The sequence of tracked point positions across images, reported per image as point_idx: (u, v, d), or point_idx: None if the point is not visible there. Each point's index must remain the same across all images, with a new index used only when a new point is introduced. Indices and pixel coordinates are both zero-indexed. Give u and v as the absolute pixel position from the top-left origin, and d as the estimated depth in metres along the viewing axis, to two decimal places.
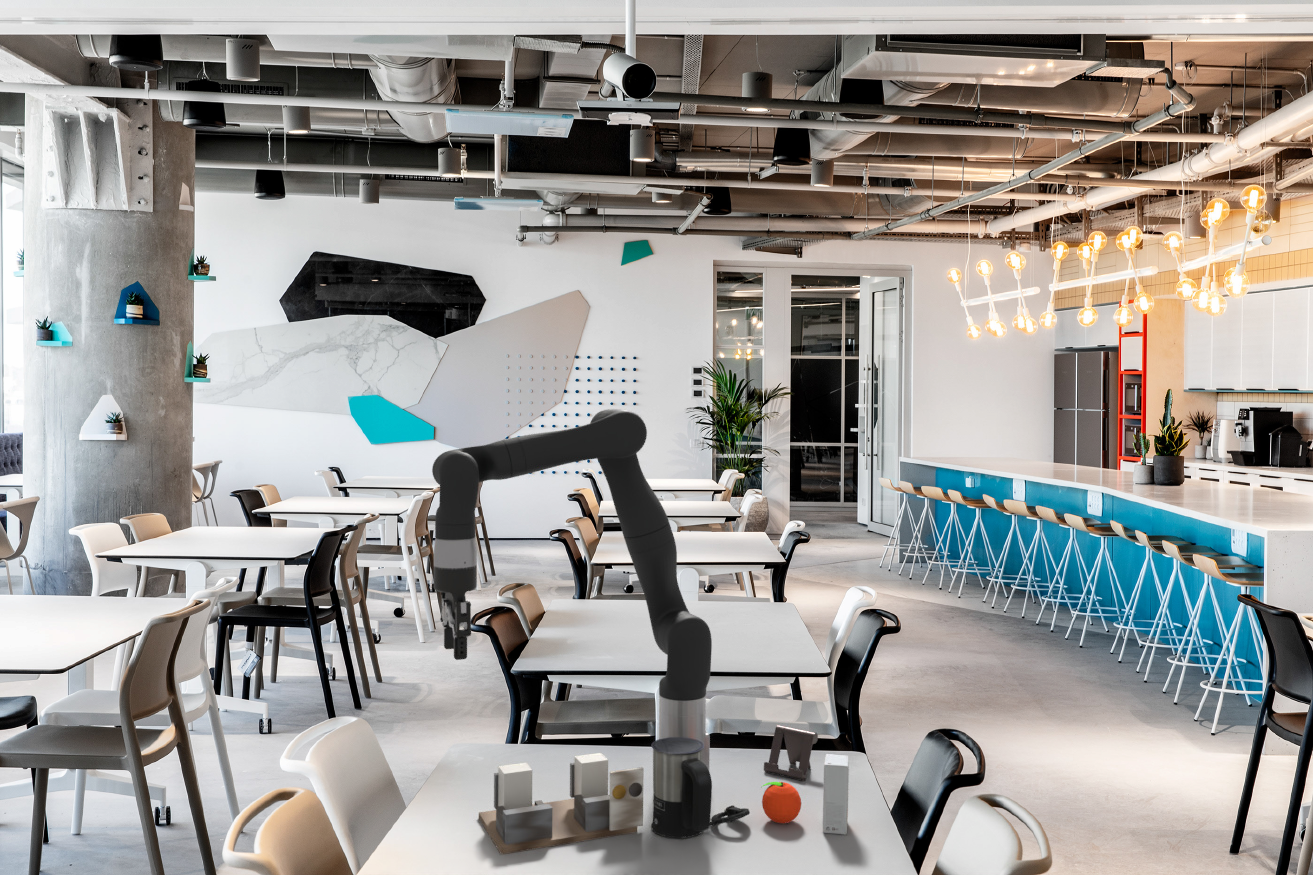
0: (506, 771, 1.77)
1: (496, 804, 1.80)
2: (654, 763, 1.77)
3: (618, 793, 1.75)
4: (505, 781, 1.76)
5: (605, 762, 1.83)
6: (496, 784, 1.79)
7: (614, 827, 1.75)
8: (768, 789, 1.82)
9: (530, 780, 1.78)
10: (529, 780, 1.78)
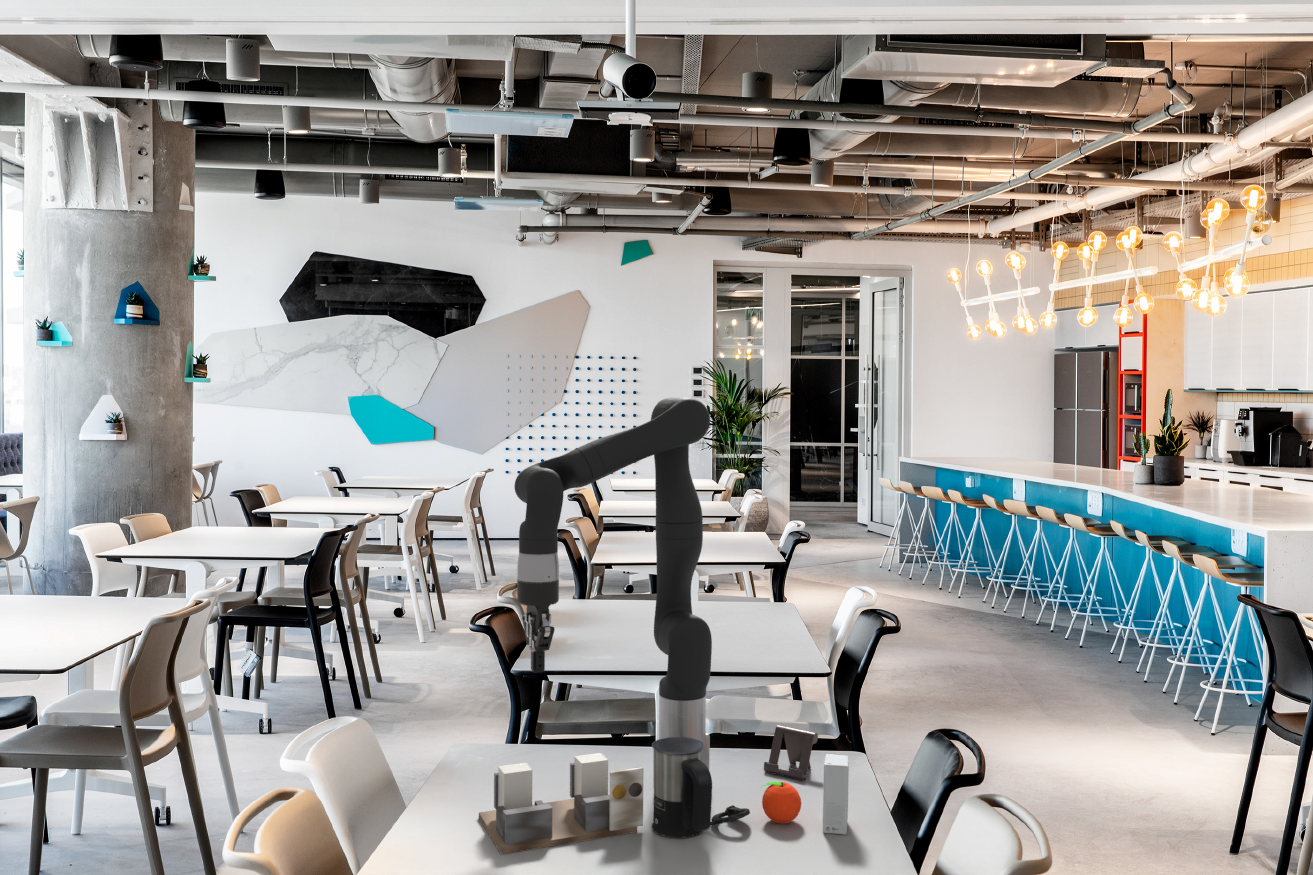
0: (506, 771, 1.77)
1: (496, 804, 1.80)
2: (654, 763, 1.77)
3: (618, 793, 1.75)
4: (505, 781, 1.76)
5: (605, 762, 1.83)
6: (496, 784, 1.79)
7: (614, 827, 1.75)
8: (768, 789, 1.82)
9: (530, 780, 1.78)
10: (529, 780, 1.78)
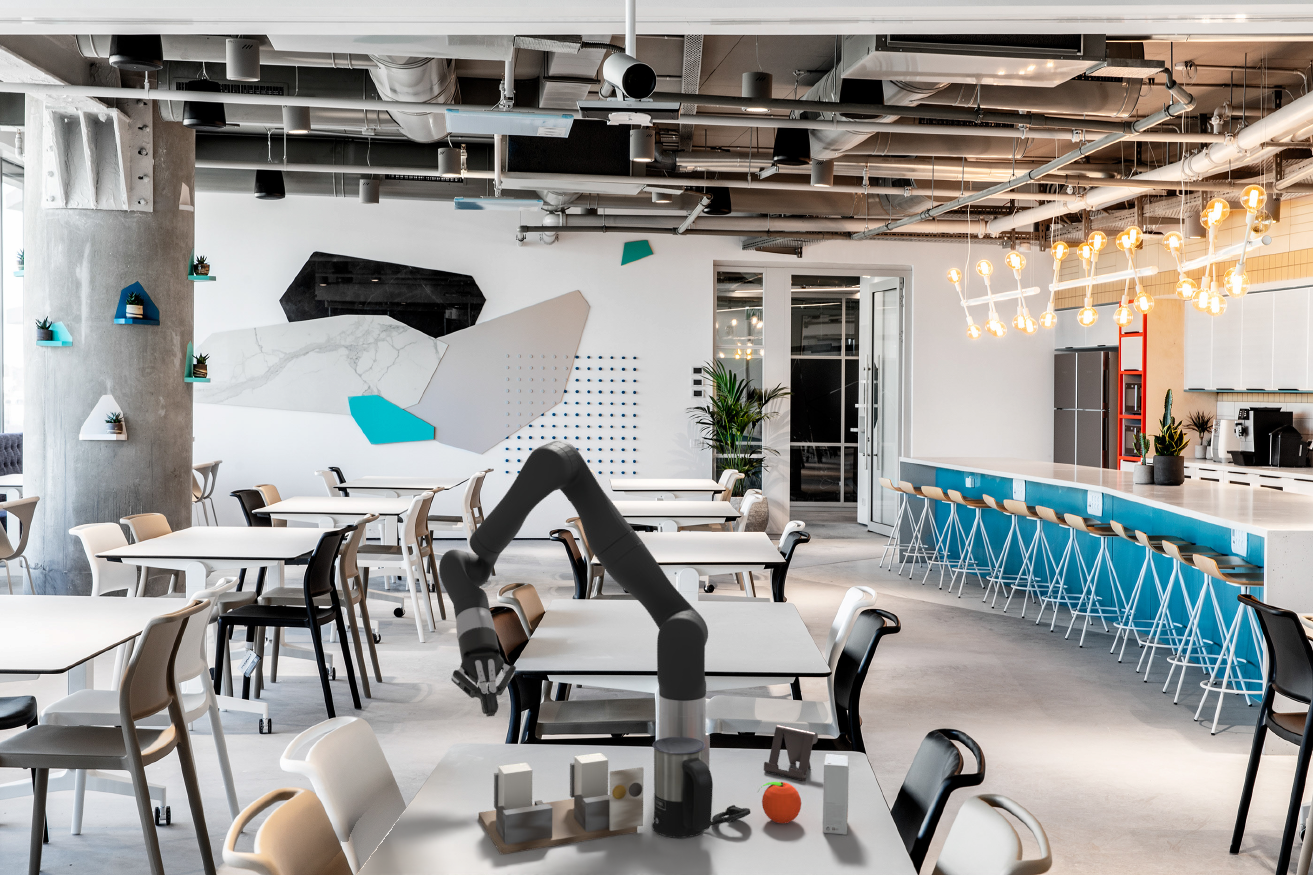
0: (506, 771, 1.77)
1: (496, 804, 1.80)
2: (655, 763, 1.77)
3: (618, 793, 1.75)
4: (505, 781, 1.76)
5: (605, 762, 1.83)
6: (496, 784, 1.79)
7: (614, 827, 1.75)
8: (768, 789, 1.82)
9: (530, 780, 1.78)
10: (529, 780, 1.78)
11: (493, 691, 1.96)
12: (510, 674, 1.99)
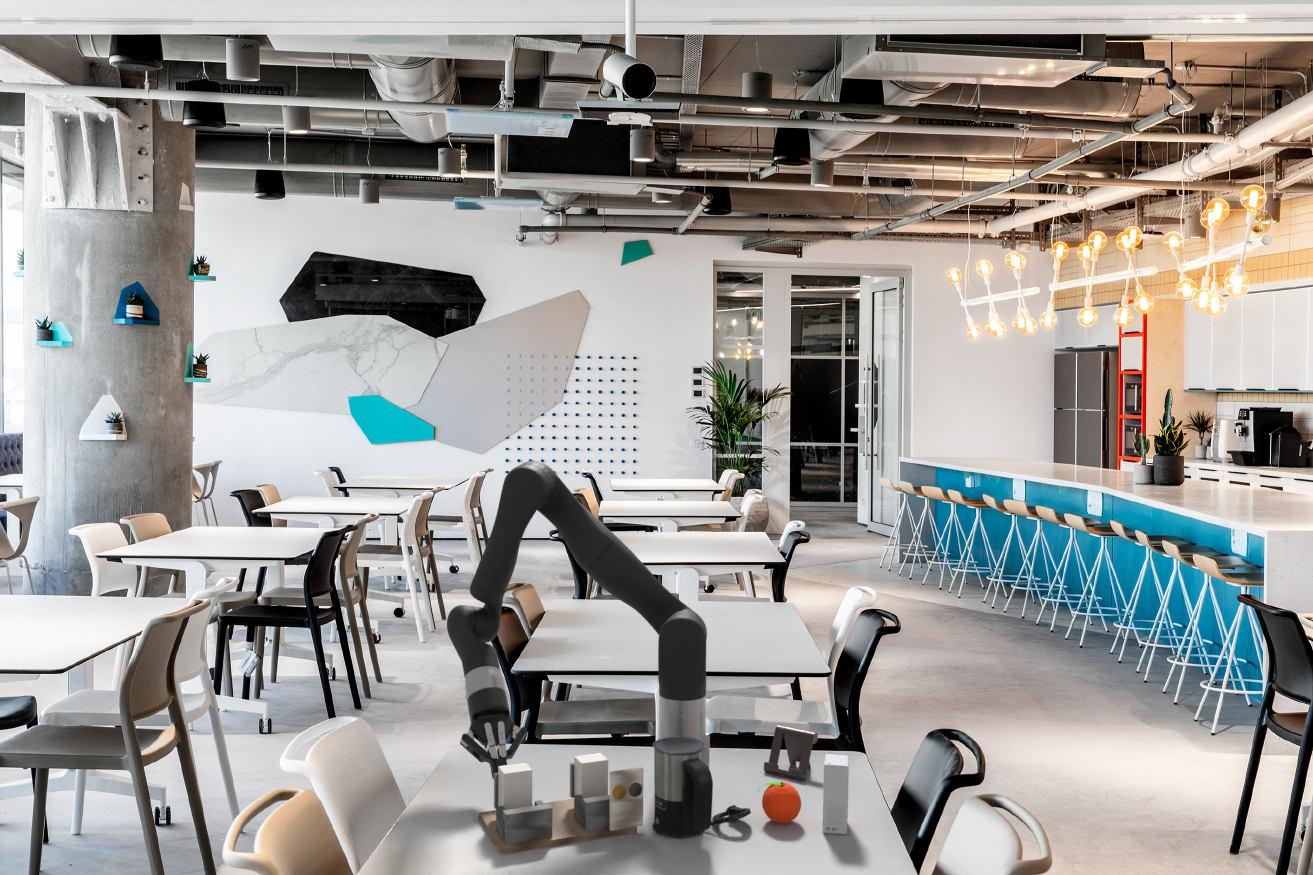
0: (506, 771, 1.77)
1: (496, 804, 1.80)
2: (655, 763, 1.78)
3: (618, 793, 1.75)
4: (505, 781, 1.76)
5: (605, 762, 1.83)
6: (496, 784, 1.79)
7: (614, 827, 1.75)
8: (768, 789, 1.82)
9: (530, 780, 1.78)
10: (529, 780, 1.78)
11: (503, 755, 1.89)
12: (521, 737, 1.93)
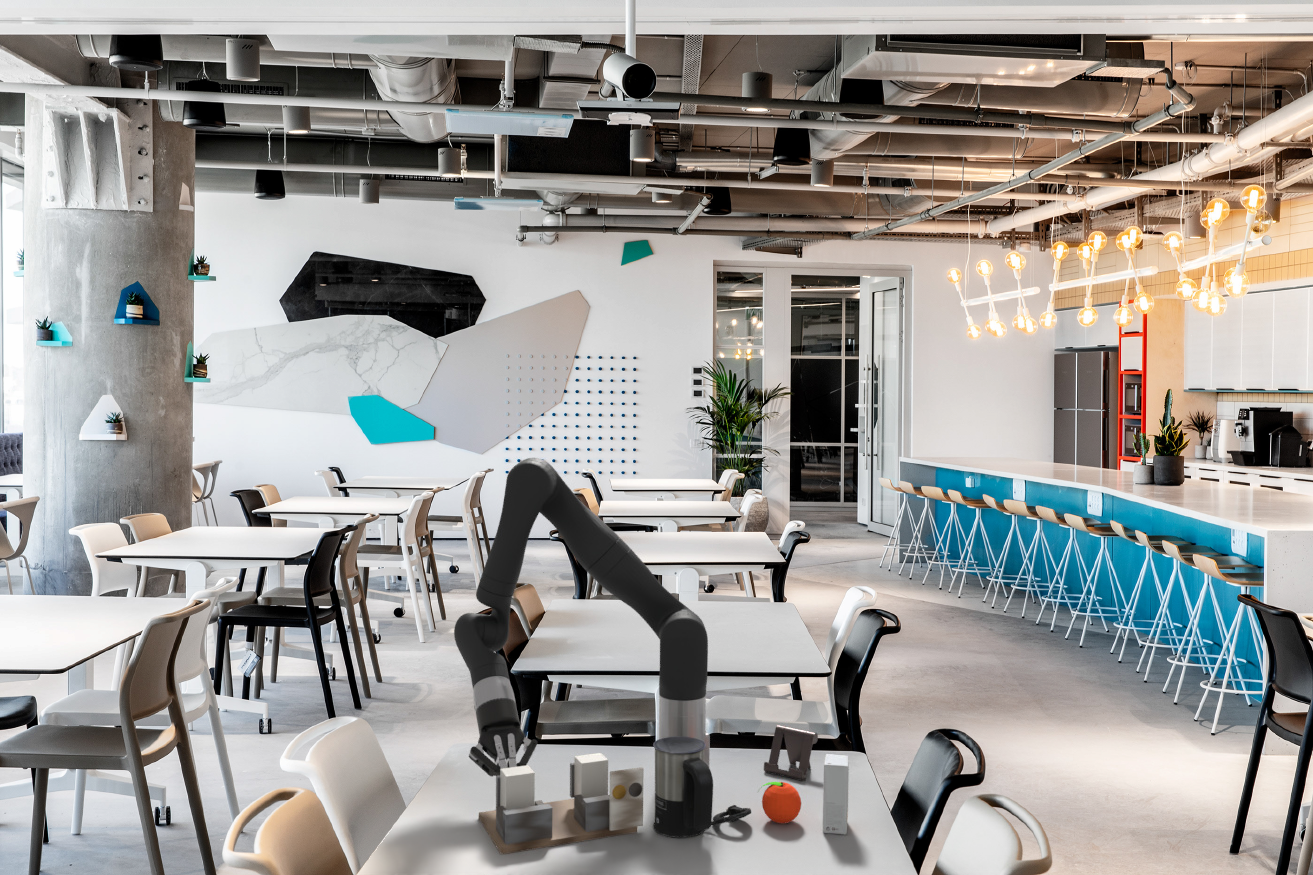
0: (508, 774, 1.75)
1: None
2: (656, 762, 1.78)
3: (618, 793, 1.75)
4: (507, 784, 1.75)
5: (605, 762, 1.83)
6: (498, 787, 1.78)
7: (614, 827, 1.75)
8: (768, 789, 1.82)
9: (532, 783, 1.76)
10: (531, 783, 1.76)
11: None
12: (531, 749, 1.86)
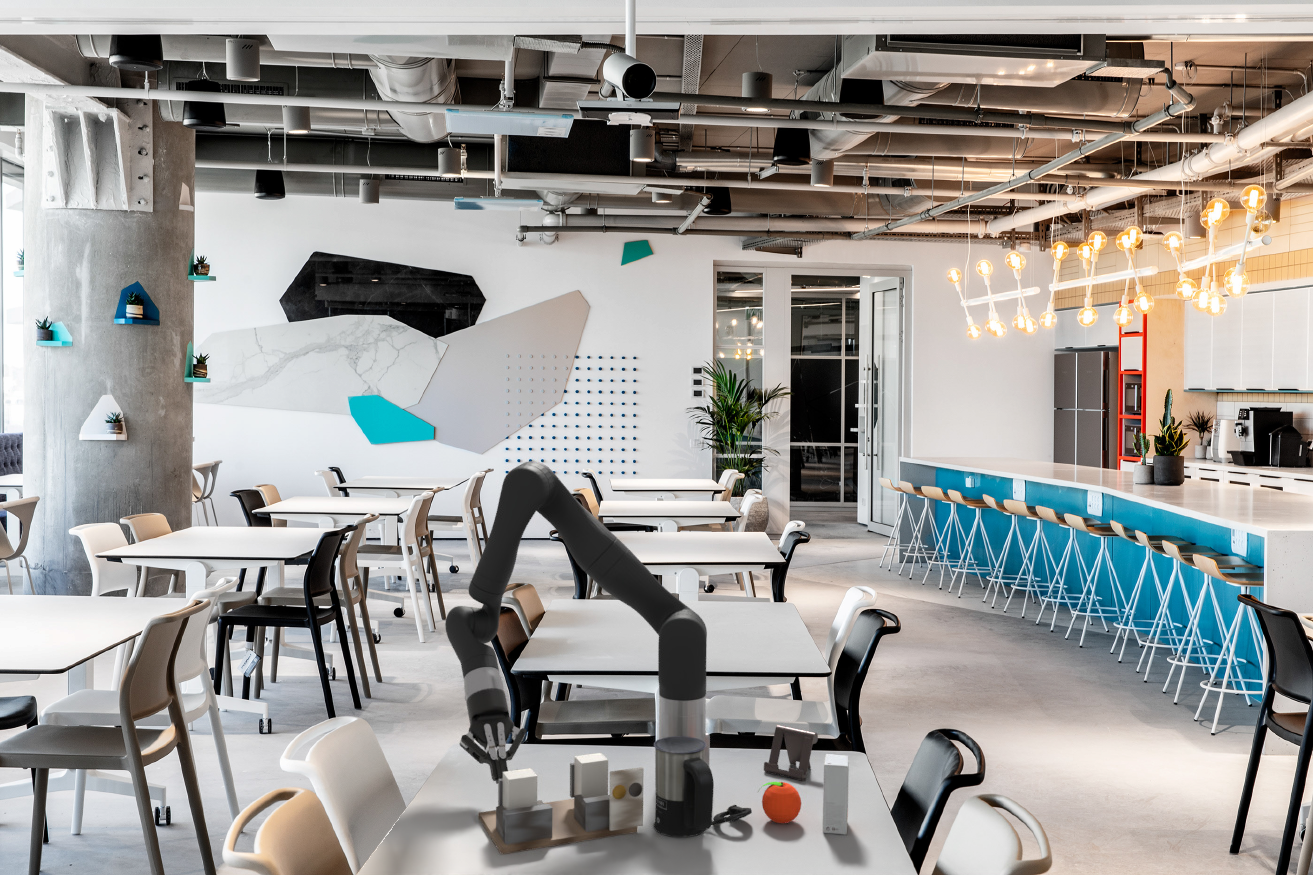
0: (510, 777, 1.74)
1: None
2: (656, 762, 1.78)
3: (618, 793, 1.75)
4: (510, 787, 1.73)
5: (605, 762, 1.83)
6: (500, 790, 1.77)
7: (614, 827, 1.75)
8: (768, 789, 1.82)
9: (535, 786, 1.75)
10: (534, 786, 1.75)
11: (503, 757, 1.89)
12: (520, 738, 1.93)
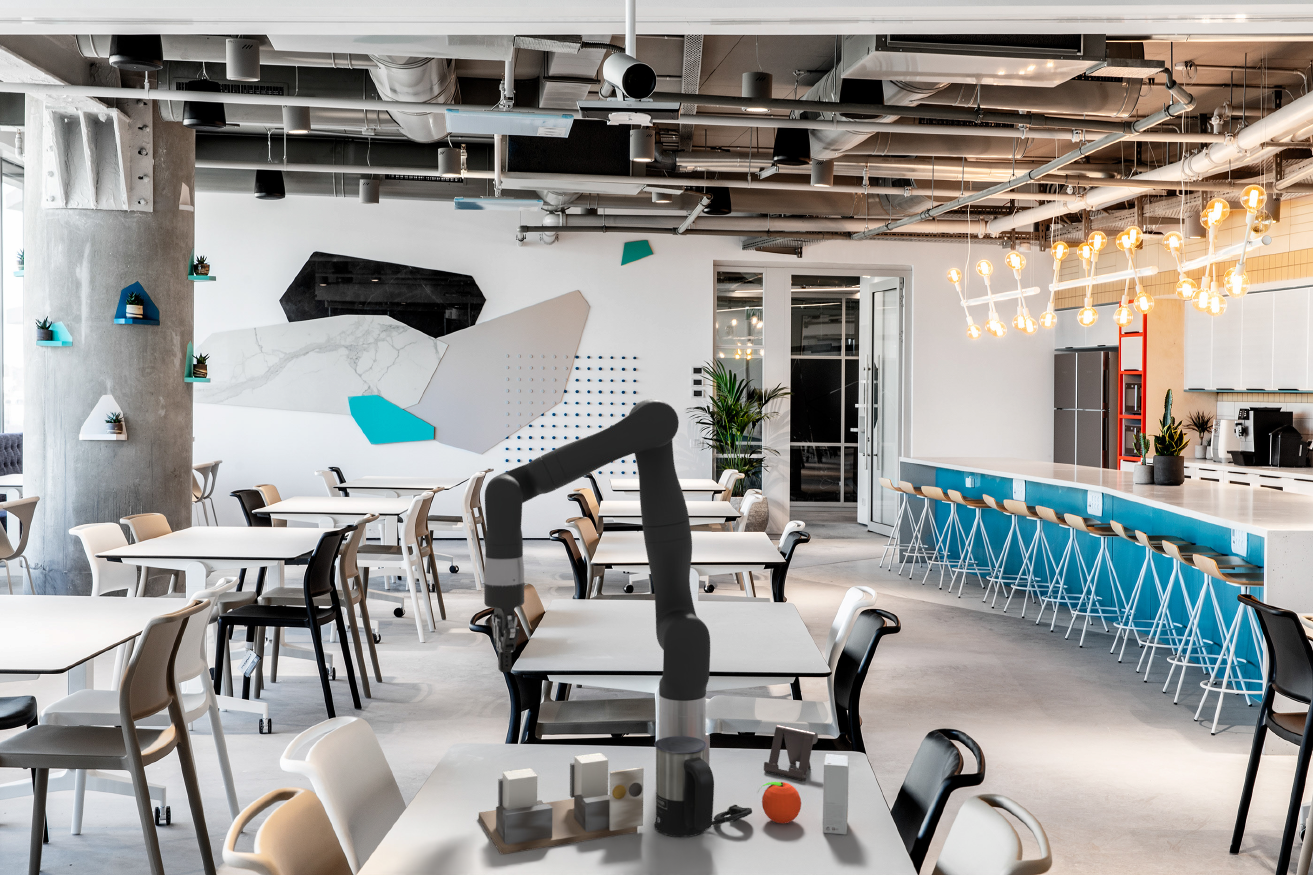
0: (510, 777, 1.74)
1: None
2: (657, 762, 1.78)
3: (618, 793, 1.75)
4: (510, 787, 1.73)
5: (605, 762, 1.83)
6: (500, 790, 1.77)
7: (614, 827, 1.75)
8: (768, 789, 1.82)
9: (535, 786, 1.75)
10: (534, 786, 1.75)
11: None
12: None
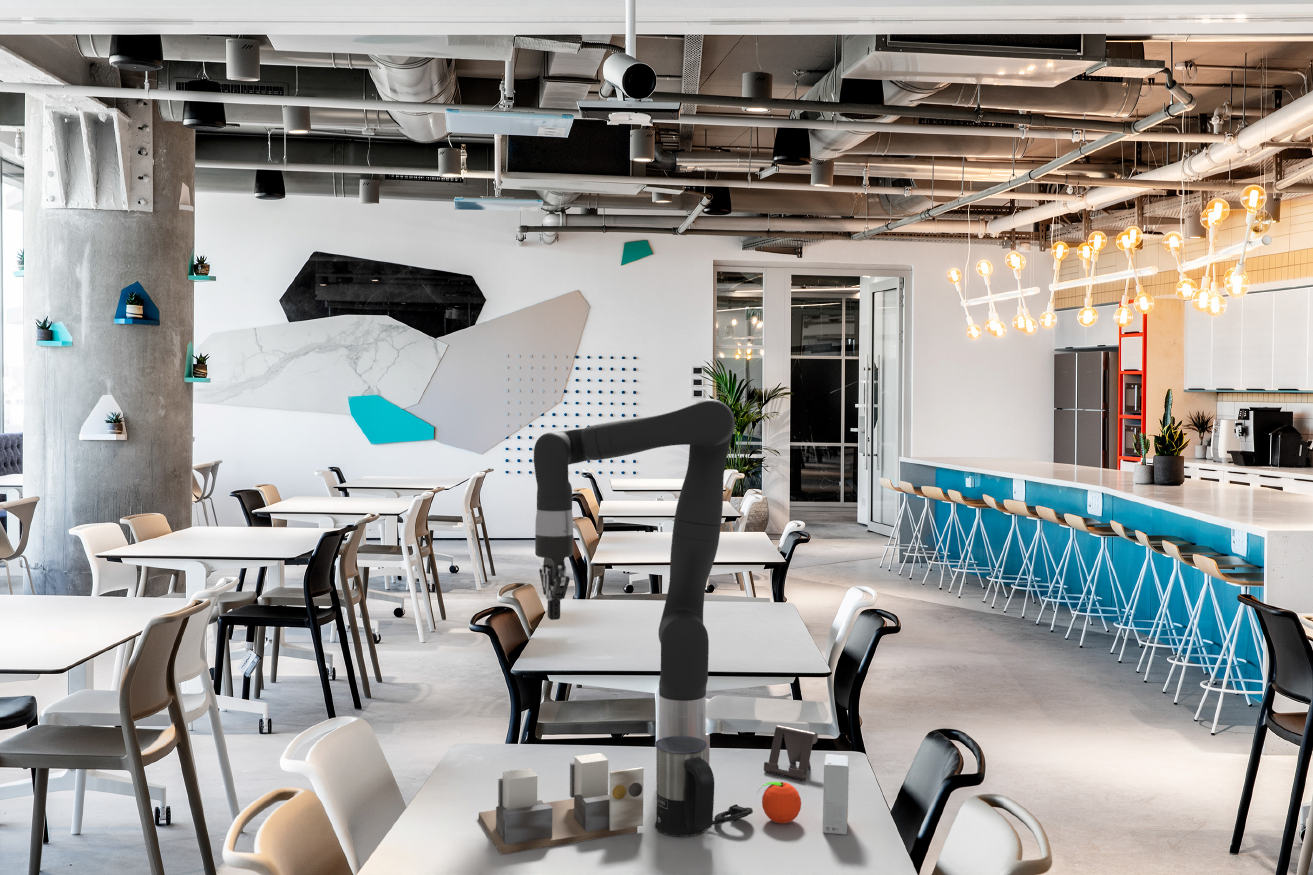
0: (510, 777, 1.74)
1: None
2: (657, 762, 1.78)
3: (618, 793, 1.75)
4: (510, 787, 1.73)
5: (605, 762, 1.83)
6: (500, 790, 1.77)
7: (614, 827, 1.75)
8: (768, 789, 1.82)
9: (535, 786, 1.75)
10: (534, 786, 1.75)
11: None
12: None
